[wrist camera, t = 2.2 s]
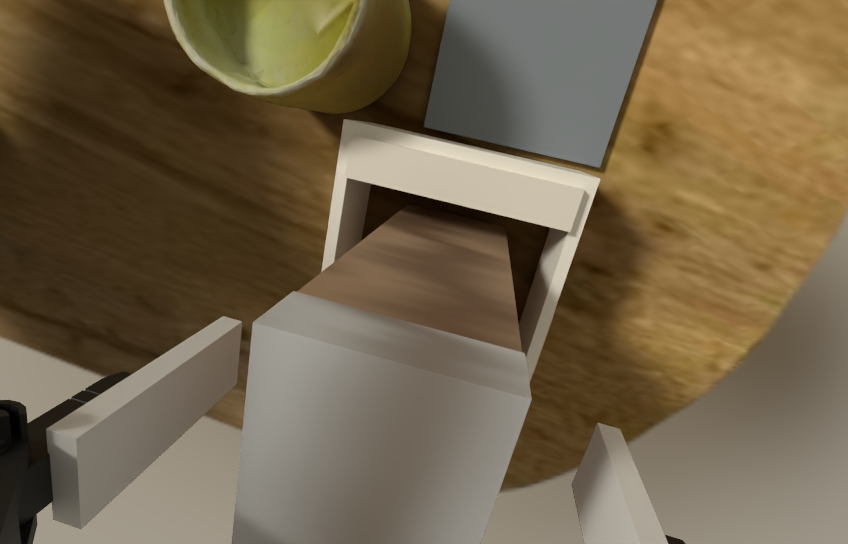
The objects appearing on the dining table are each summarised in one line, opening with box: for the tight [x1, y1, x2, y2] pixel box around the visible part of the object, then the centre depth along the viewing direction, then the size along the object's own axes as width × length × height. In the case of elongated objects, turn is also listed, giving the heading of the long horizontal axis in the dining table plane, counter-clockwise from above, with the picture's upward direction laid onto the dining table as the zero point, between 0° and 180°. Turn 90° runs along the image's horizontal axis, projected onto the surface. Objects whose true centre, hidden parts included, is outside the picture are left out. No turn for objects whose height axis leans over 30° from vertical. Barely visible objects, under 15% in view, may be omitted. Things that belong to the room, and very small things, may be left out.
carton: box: [321, 119, 600, 383], centre depth 25 cm, size 12×17×5 cm
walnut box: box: [232, 203, 532, 544], centre depth 19 cm, size 6×9×18 cm
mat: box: [424, 0, 657, 168], centre depth 22 cm, size 10×12×1 cm
